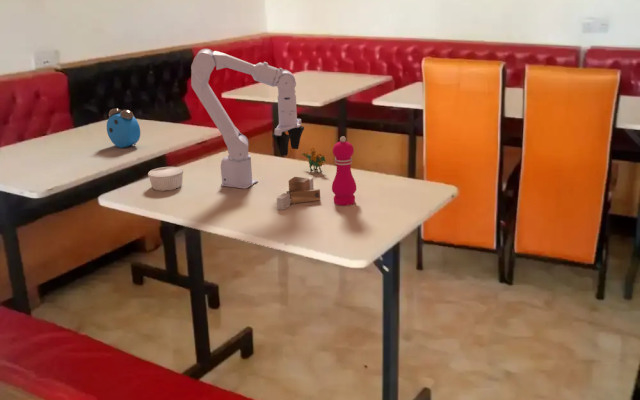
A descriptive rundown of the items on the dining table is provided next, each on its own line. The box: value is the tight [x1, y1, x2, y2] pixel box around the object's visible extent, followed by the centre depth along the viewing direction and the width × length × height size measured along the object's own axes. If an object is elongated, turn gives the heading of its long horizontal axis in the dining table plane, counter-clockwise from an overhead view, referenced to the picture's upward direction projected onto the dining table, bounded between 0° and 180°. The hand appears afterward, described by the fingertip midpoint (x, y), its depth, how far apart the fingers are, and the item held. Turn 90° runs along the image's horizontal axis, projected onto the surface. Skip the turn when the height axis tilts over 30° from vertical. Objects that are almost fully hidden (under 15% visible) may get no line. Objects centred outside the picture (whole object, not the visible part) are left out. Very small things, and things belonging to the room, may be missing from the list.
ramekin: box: [147, 166, 184, 192], centre depth 218 cm, size 11×11×5 cm
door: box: [290, 188, 321, 204], centre depth 200 cm, size 2×9×3 cm, turn 105°
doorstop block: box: [288, 176, 310, 201], centre depth 203 cm, size 5×4×6 cm
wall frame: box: [276, 176, 314, 211], centre depth 203 cm, size 2×20×4 cm, turn 155°
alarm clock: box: [106, 108, 141, 149], centre depth 265 cm, size 13×6×15 cm, turn 57°
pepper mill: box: [331, 136, 357, 206], centre depth 196 cm, size 7×7×20 cm
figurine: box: [301, 146, 327, 173], centre depth 228 cm, size 3×12×8 cm, turn 42°
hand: (289, 151), depth 216 cm, fingers open, 7 cm apart
